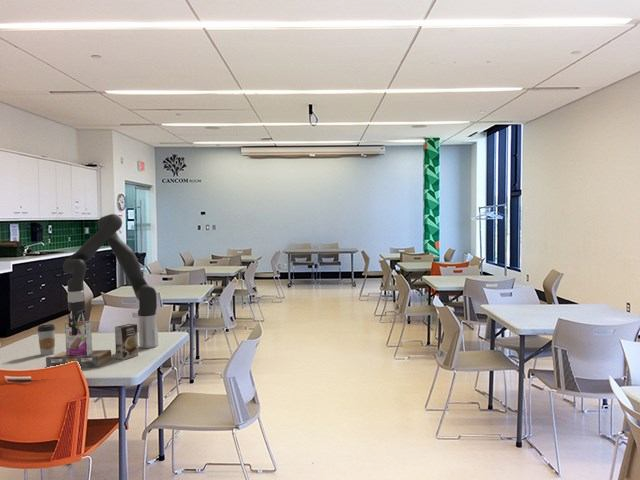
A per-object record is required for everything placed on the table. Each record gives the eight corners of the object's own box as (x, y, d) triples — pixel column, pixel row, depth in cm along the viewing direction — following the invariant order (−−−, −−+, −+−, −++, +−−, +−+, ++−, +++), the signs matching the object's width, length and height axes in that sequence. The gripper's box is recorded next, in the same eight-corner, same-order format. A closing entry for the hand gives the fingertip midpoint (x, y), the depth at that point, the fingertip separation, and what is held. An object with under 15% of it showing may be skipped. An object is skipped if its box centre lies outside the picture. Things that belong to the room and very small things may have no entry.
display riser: (111, 357, 269) (110, 346, 269) (97, 367, 251) (97, 355, 251) (63, 359, 268) (62, 348, 268) (46, 369, 251) (45, 357, 251)
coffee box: (124, 360, 263) (122, 327, 263) (115, 358, 267) (114, 326, 266) (139, 355, 271) (137, 324, 270) (130, 354, 275) (129, 323, 274)
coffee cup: (38, 356, 275) (37, 328, 275) (38, 353, 283) (37, 325, 282) (56, 354, 279) (55, 326, 279) (56, 351, 287) (54, 323, 286)
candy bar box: (65, 356, 258) (64, 322, 257) (72, 353, 263) (70, 320, 262) (86, 356, 256) (85, 322, 255) (93, 354, 261) (91, 320, 260)
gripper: (74, 298, 265) (76, 330, 266) (61, 302, 251) (63, 337, 252) (90, 297, 265) (92, 330, 266) (78, 302, 251) (80, 336, 252)
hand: (78, 333), depth 259 cm, fingers open, 8 cm apart
